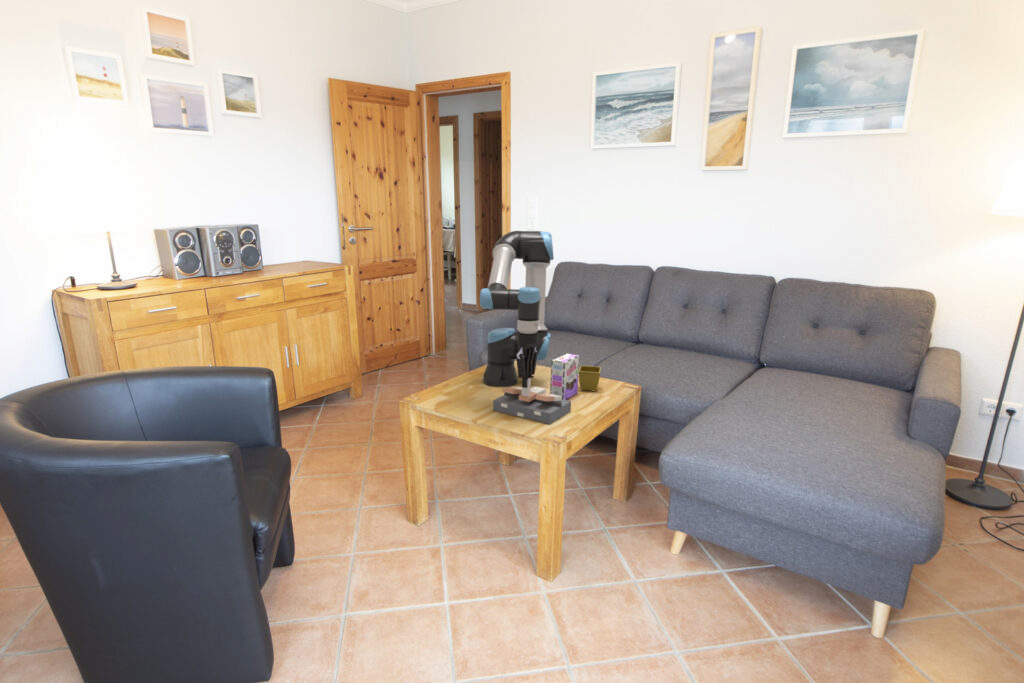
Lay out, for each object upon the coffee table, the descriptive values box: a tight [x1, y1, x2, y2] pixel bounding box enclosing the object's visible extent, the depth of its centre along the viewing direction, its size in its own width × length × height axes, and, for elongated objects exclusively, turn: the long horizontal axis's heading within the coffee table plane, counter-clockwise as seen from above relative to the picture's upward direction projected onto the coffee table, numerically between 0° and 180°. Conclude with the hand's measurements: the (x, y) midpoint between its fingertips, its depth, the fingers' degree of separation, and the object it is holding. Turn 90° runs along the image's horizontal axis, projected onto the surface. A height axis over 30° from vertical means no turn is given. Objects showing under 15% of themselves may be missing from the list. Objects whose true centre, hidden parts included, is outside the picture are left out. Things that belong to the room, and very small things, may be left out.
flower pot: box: [578, 365, 602, 391], centre depth 233 cm, size 9×9×9 cm
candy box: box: [549, 353, 580, 401], centre depth 222 cm, size 14×6×16 cm, turn 148°
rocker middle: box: [519, 386, 547, 402], centre depth 206 cm, size 4×12×2 cm, turn 147°
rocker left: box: [502, 386, 522, 394], centre depth 209 cm, size 4×12×2 cm, turn 147°
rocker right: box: [536, 393, 562, 401], centre depth 202 cm, size 4×12×2 cm, turn 147°
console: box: [492, 392, 572, 425], centre depth 206 cm, size 24×16×6 cm
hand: (526, 395), depth 202 cm, fingers closed
